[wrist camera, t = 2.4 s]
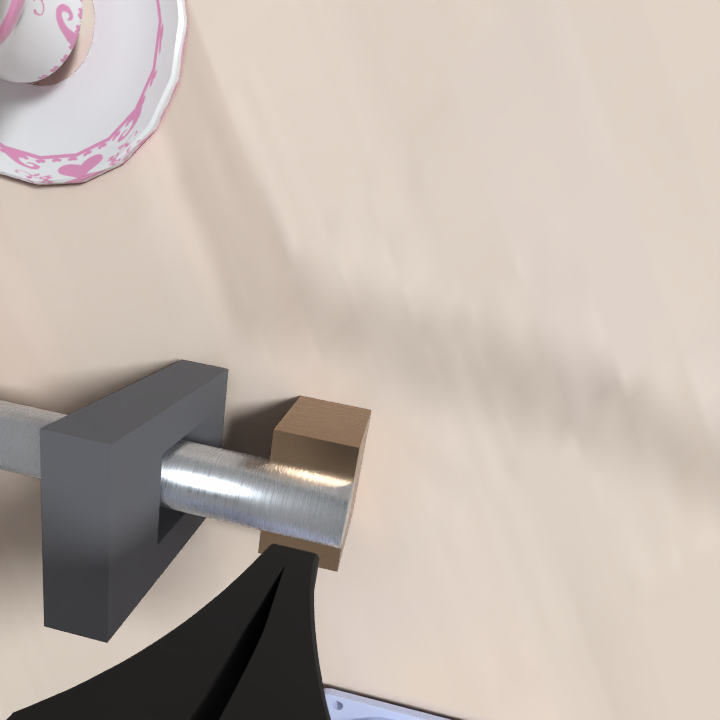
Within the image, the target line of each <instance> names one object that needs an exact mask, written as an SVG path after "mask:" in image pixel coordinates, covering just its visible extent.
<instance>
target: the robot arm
mask: <svg viewBox="0 0 720 720" xmlns="http://www.w3.org/2000/svg"><path fill="white" fill-rule="evenodd" d="M318 564H319V557H318V555H317V554H316V553H312V552H308V551H304V550H300V549H295V548H291V547H287V546H282V545H278V544H274V543H273V544H272V545H270V546H269V547H268V548H267V549H266V550H265V551H264V552H263V553H262V554H261V555H260V556H259V557H258V558H257V559H256V560H255V561H254V562H253V563H252V564H251V565H250V566H249V567H248V568H247V569H246V570H245V571H244V572H243V573H242V574H241V575H240V576H239V577H238V578H237V579H236V580H235V581H234V582H232V583H231V584H230V585H229V586H228V587H227V588H226V589H225V590H224V591H222V592H221V593H220V594H219V595H218V596H217V597H215V598H214V599H213V600H212V601H210V602H209V603H208V604H207V605H206V606H204V607H203V608H202V609H201V610H199V611H198V612H197V613H196V614H194V615H193V616H192V617H190V618H189V619H188V620H186V621H185V622H184V623H182V624H181V625H180V626H178V627H177V628H175V629H174V630H172V631H171V632H170V633H168V634H167V635H165V636H164V637H162V638H161V639H159V640H158V641H156V642H154V643H153V644H151V645H150V646H148V647H146V648H145V649H143V650H142V651H140V652H138V653H137V654H135V655H133V656H132V657H130V658H128V659H127V660H125V661H123V662H121V663H120V664H118V665H116V666H114V667H112V668H110V669H108V670H106V671H104V672H102V673H101V674H99V675H97V676H95V677H93V678H91V679H89V680H87V681H85V682H83V683H81V684H79V685H77V686H75V687H73V688H71V689H69V690H66V691H64V692H62V693H59V694H57V695H55V696H52V697H50V698H48V699H45V700H43V701H40V702H38V703H36V704H33V705H31V706H29V707H26V708H24V709H21V710H19V711H16V712H14V713H13V714H12V715H11V716H10V717H9V718H8V719H7V720H450V719H447V718H443V717H439V716H435V715H431V714H427V713H424V712H420V711H416V710H412V709H408V708H404V707H401V706H397V705H393V704H389V703H385V702H381V701H378V700H374V699H370V698H366V697H362V696H358V695H354V694H351V693H347V692H343V691H339V690H335V689H331V688H324V687H323V683H322V677H321V671H320V665H319V659H318V651H317V642H316V633H315V619H314V588H315V582H316V576H317V570H318ZM337 701H339V702H337Z"/></svg>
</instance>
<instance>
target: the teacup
mask: <svg viewBox="0 0 720 720" xmlns="http://www.w3.org/2000/svg"><path fill="white" fill-rule="evenodd" d="M92 1H93V8H94V14H95V22H94V32H93V41H92V43H91V46H90V48H89V51H88V54H87V56H86V59H85V61H84V62H83V63H82V64H81V65H80V67H79V68H78V69H77V70H76V71H75V73H74V74H73V75H72V76H70V77H68V78H66V79H64V80H62V81H61V82H59V83H57V84H50V85H40V86H38V85H34V84H31V82H36V81H39V80H41V79H44V78H46V77H48V76H49V75H51V74H52V73H54V72H55V71H56V70H57V69H58V68H59V67H60V66H61V65H62V64H63V63H64V62H65V60H66V59H67V58H68V57H69V55H70V53H71V51H72V49H73V48H74V45H75V43H76V40H77V38H78V34H79V30H80V26H81V19H82V0H0V174H3V175H6V176H10V177H13V178H16V179H20V180H23V181H26V182H30V183H33V184H37V185H52V184H68V183H83V182H86V181H88V180H91V179H93V178H95V177H97V176H99V175H101V174H103V173H105V172H107V171H109V170H112V169H114V168H116V167H118V166H120V165H122V164H124V163H125V162H126V161H127V160H128V159H129V158H130V157H131V156H132V155H133V154H134V152H135V151H136V150H137V149H138V148H139V147H140V146H141V145H142V144H143V143H144V142H145V141H146V140H147V139H148V138H149V137H150V136H151V135H152V134H153V132H154V131H155V130H156V129H157V127H158V125H159V123H160V121H161V119H162V116H163V114H164V112H165V110H166V108H167V106H168V103H169V101H170V99H171V97H172V95H173V93H174V90H175V88H176V86H177V84H178V82H179V76H180V70H181V63H182V56H183V49H184V43H185V36H186V29H187V15H186V6H185V0H92Z"/></svg>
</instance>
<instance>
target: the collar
mask: <svg viewBox="0 0 720 720" xmlns="http://www.w3.org/2000/svg"><path fill="white" fill-rule="evenodd" d="M227 379H228V369H225V368H220V367H216V366H211V365H206V364H201V363H196V362H191V361H186V360H180V361H178V362H176V363H174V364H172V365H170V366H168V367H166V368H164V369H162V370H160V371H158V372H156V373H154V374H151V375H149V376H147V377H145V378H143V379H141V380H139V381H137V382H135V383H133V384H131V385H129V386H127V387H125V388H123V389H120V390H118V391H116V392H114V393H112V394H110V395H108V396H106V397H104V398H102V399H100V400H98V401H96V402H94V403H92V404H89V405H87V406H85V407H83V408H81V409H79V410H77V411H75V412H73V413H71V414H69V415H67V416H65V417H63V418H61V419H58V420H56V421H54V422H52V423H50V424H48V425H46V426H44V427H42V428H40V470H41V512H42V555H43V597H44V626H45V627H49V628H53V629H57V630H60V631H64V632H68V633H72V634H76V635H79V636H83V637H87V638H91V639H95V640H98V641H102V642H106V643H107V642H108V641H109V640H110V639H111V637H112V636H113V635H114V634H115V632H116V631H117V630H118V629H119V627H120V626H121V625H122V623H123V622H124V621H125V620H126V618H127V617H128V616H129V615H130V613H131V612H132V611H133V610H134V608H135V607H136V606H137V605H138V603H139V602H140V601H141V599H142V598H143V597H144V596H145V594H146V593H147V592H148V591H149V589H150V588H151V587H152V586H153V584H154V583H155V582H156V581H157V579H158V578H159V577H160V575H161V574H162V573H163V572H164V570H165V569H166V568H167V567H168V565H169V564H170V563H171V562H172V560H173V559H174V558H175V557H176V555H177V554H178V553H179V551H180V550H181V549H182V548H183V546H184V545H185V544H186V543H187V541H188V540H189V539H190V538H191V536H192V535H193V534H194V532H195V531H196V530H197V529H198V527H199V526H200V525H201V524H202V522H203V521H204V520H205V519H206V517H203V516H198V515H194V514H190V513H185V512H181V511H177V510H172V509H168V508H164V507H160V506H159V505H160V487H161V468H162V454H163V453H164V452H166V451H167V450H168V449H169V448H171V447H172V446H173V445H174V444H176V443H177V442H178V441H179V440H180V439H181V440H185V441H190V442H195V443H199V444H204V445H208V446H213V447H218V448H221V444H222V433H223V423H224V412H225V401H226V390H227Z"/></svg>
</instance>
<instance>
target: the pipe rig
mask: <svg viewBox="0 0 720 720" xmlns="http://www.w3.org/2000/svg"><path fill="white" fill-rule="evenodd" d="M370 415H371V410H367V409H363V408H358V407H353V406H348V405H343V404H338V403H333V402H328V401H324V400H319V399H314V398H309V397H304V396H300V397H299V398H298V400H297V401H296V402H295V403H294V405H293V406H292V407H291V408H290V410H289V411H288V412H287V413H286V415H285V416H284V417H283V418H282V420H281V421H280V422H279V423H278V425H277V426H276V427H275V428H274V430H273V438H272V446H271V454H270V459H268V458H263V457H259V456H254V455H250V454H245V453H240V452H236V451H231V450H227V449H222V448H218V447H213V446H208V445H204V444H199V443H195V442H190V441H185V440H181V439H180V440H179V441H178V442H177V443H176V444H174V445H173V446H172V447H171V448H169V449H168V450H167V451H166V452H164V453H163V454H162V468H161V487H160V505H159V506H160V507H164V508H168V509H172V510H177V511H181V512H185V513H190V514H194V515H198V516H203V517H207V518H211V519H215V520H220V521H224V522H228V523H233V524H237V525H241V526H245V527H250V528H254V529H258V530H261V534H260V542H259V550H258V553H261V554H262V553H263V552H264V551H265V550H266V549H267V548H268V547H269V546H270V545H272V544H273V543H274V544H278V545H282V546H287V547H291V548H295V549H300V550H304V551H308V552H312V553H316V554H317V555H318V557H319V564H318V567H320V568H324V569H328V570H333V571H338V567H339V563H340V559H341V556H342V552H343V548H344V544H345V540H346V536H347V533H348V529H349V525H350V521H351V517H352V513H353V508H354V502H355V497H356V491H357V486H358V480H359V475H360V469H361V464H362V458H363V453H364V448H365V442H366V437H367V431H368V426H369V420H370ZM65 416H67V414H62V413H57V412H53V411H48V410H44V409H39V408H35V407H30V406H25V405H21V404H16V403H12V402H7V401H3V400H0V469H1V470H5V471H9V472H14V473H18V474H22V475H27V476H31V477H35V478H39V479H41V470H40V428H42V427H44V426H46V425H48V424H50V423H52V422H54V421H56V420H58V419H61V418H63V417H65Z"/></svg>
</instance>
